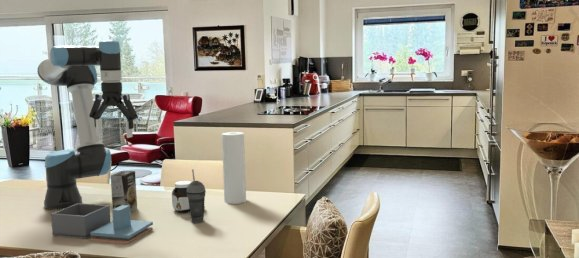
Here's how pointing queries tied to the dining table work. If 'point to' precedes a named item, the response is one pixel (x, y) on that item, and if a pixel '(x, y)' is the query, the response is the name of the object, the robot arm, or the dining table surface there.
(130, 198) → the coffee box
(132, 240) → the rubber mat
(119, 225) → the lid
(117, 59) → the robot arm
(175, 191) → the spread jar
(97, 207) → the storage box
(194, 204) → the beverage cup
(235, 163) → the paper towel roll
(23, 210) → the dining table surface
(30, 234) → the dining table surface
